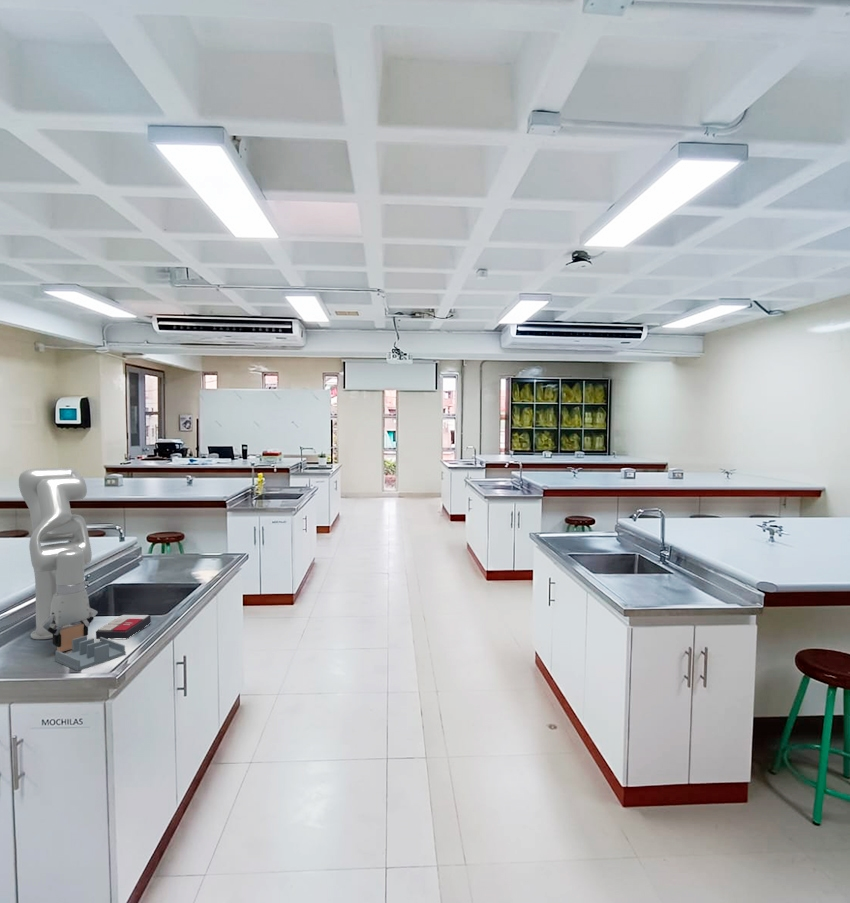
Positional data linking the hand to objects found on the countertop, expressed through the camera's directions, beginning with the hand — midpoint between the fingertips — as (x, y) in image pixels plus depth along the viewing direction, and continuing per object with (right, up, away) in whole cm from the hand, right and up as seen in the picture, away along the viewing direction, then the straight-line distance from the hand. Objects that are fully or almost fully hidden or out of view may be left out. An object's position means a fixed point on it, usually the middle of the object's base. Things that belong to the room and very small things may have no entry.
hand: (70, 641), depth 169 cm
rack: (+11, -3, -7) cm, 13 cm away
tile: (0, -2, 0) cm, 2 cm away
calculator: (+8, -3, +16) cm, 18 cm away
